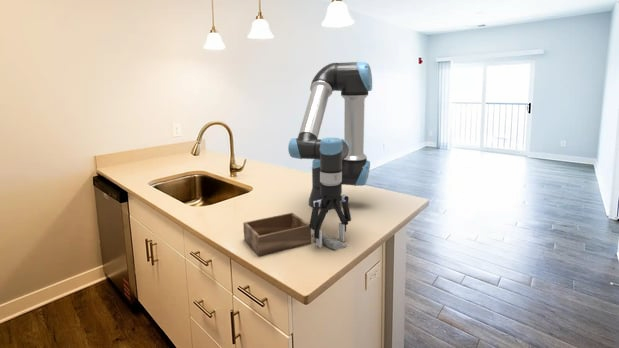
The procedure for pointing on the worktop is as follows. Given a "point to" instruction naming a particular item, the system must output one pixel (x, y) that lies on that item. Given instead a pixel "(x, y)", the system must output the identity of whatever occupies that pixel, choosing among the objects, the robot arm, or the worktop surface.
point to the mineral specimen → (330, 242)
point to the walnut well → (276, 234)
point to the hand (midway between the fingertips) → (330, 243)
